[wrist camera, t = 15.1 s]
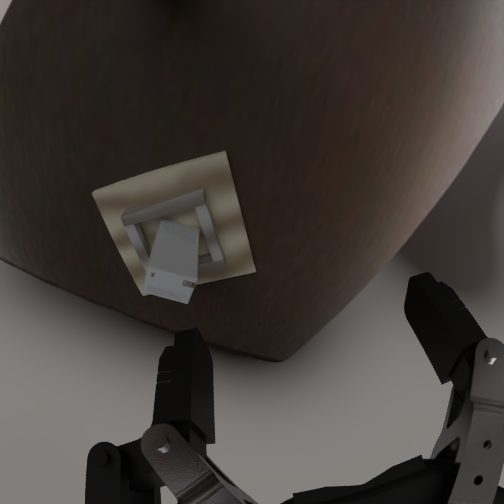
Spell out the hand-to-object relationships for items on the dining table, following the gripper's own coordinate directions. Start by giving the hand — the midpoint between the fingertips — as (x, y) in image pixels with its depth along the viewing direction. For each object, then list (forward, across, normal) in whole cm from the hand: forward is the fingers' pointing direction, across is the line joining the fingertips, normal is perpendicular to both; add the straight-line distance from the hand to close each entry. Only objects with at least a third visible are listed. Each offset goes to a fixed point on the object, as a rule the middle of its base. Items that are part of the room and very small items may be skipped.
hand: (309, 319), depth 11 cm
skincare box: (+31, +13, +12) cm, 36 cm away
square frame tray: (+32, +13, +12) cm, 37 cm away
